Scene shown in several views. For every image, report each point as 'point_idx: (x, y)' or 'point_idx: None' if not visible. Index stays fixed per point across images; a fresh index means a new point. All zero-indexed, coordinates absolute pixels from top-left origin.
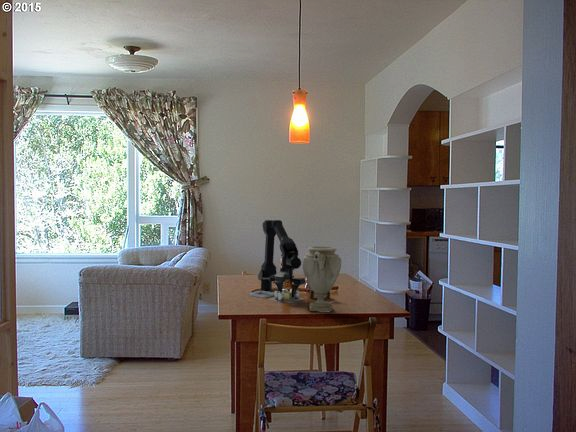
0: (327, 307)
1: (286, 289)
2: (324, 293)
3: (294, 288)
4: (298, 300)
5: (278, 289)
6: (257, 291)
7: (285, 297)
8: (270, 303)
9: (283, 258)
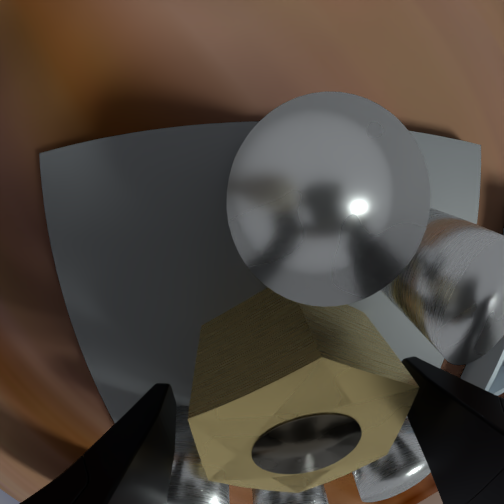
0: None
1: (378, 495)
2: None
3: (30, 499)
4: (102, 377)
5: (490, 397)
6: None
7: (264, 317)
8: (354, 20)
9: None
